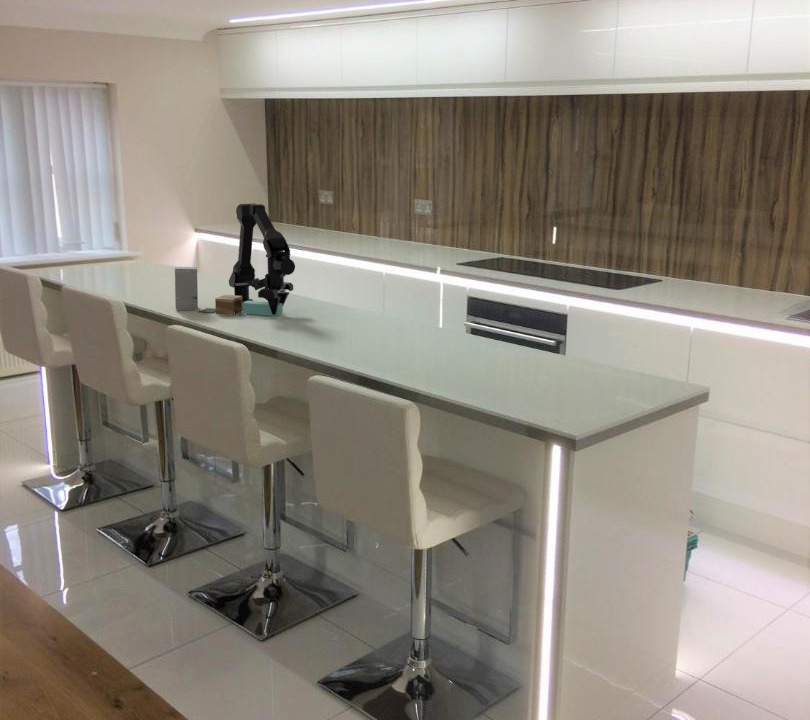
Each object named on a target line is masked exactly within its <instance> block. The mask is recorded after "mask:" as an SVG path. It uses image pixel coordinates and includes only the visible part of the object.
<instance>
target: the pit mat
mask: <svg viewBox="0 0 810 720" xmlns="http://www.w3.org/2000/svg"><path fill="white" fill-rule="evenodd" d="M197 311H198V310H197ZM197 313H203V314H214V313H215V314H216V308H211V307H206V308H204V309H200V310H199V311H198V312H197Z"/></svg>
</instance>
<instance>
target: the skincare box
mask: <svg viewBox="0 0 810 720" xmlns="http://www.w3.org/2000/svg"><path fill="white" fill-rule="evenodd" d="M198 294H199V293H198V268H197V267H196V266H174V295H175V298H174V300H175V301H174V302H175V303H174V304H175V310H176V311H195V310H196V311H198V310H199V305H198V304H199V301H198V299H199V298H198V297H199V296H198Z"/></svg>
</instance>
